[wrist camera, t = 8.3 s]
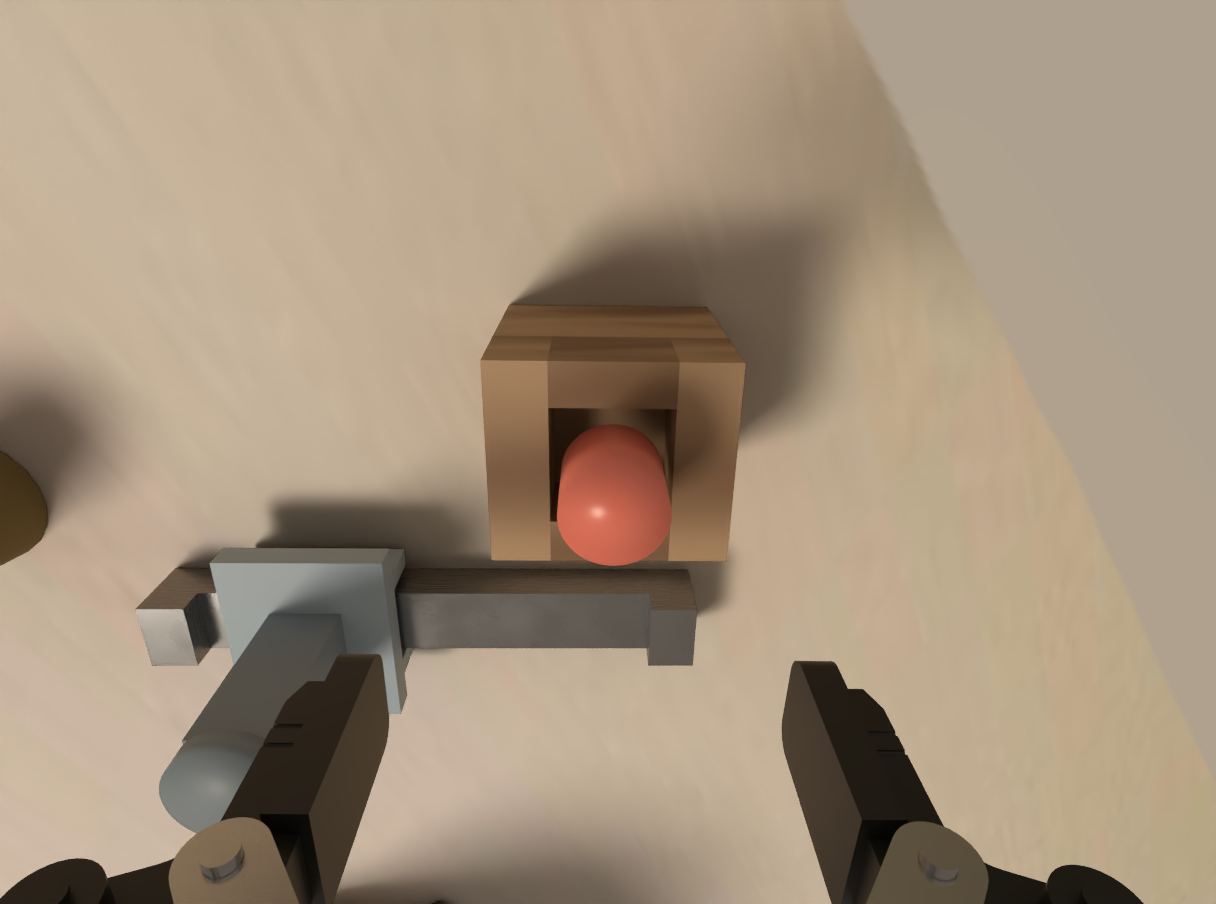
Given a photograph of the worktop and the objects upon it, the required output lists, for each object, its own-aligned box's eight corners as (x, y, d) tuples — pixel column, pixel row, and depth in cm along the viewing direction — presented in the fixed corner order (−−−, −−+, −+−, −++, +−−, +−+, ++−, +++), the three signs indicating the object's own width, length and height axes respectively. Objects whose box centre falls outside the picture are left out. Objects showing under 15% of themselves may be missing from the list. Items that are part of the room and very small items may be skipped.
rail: (175, 568, 33) (135, 609, 30) (687, 569, 34) (696, 610, 31) (189, 620, 34) (151, 665, 32) (684, 621, 35) (692, 665, 32)
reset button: (560, 423, 22) (556, 463, 19) (664, 424, 22) (675, 464, 19) (561, 515, 23) (557, 565, 20) (659, 516, 23) (668, 565, 20)
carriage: (245, 523, 32) (80, 704, 22) (401, 524, 32) (311, 703, 22) (275, 665, 35) (143, 881, 25) (417, 665, 36) (345, 880, 25)
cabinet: (509, 304, 29) (480, 360, 21) (706, 307, 29) (745, 363, 22) (515, 471, 32) (492, 570, 24) (694, 472, 32) (725, 571, 24)
